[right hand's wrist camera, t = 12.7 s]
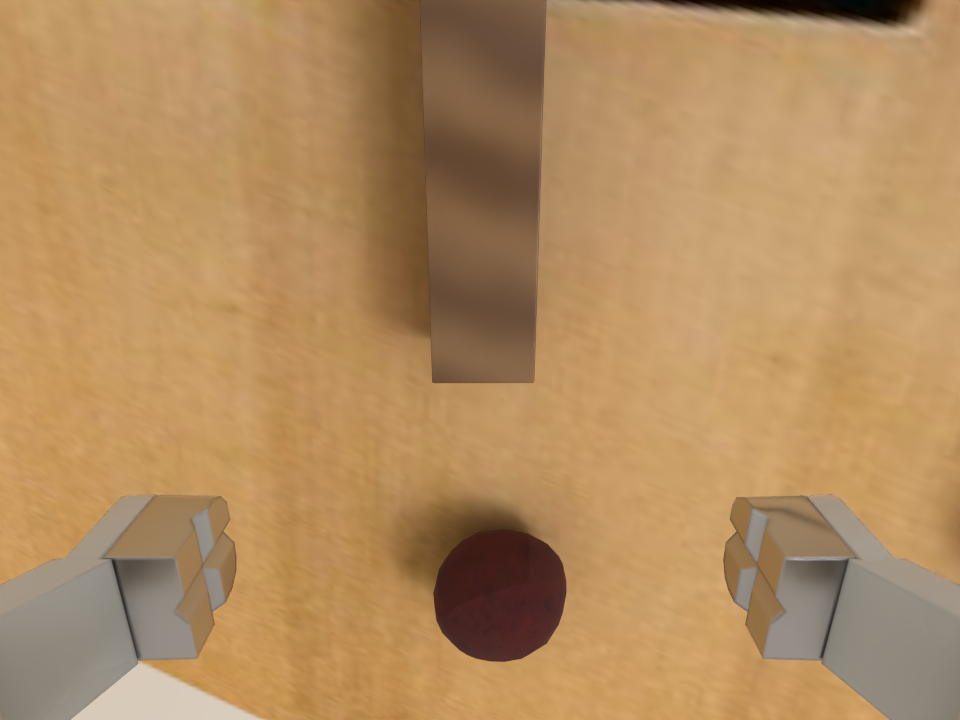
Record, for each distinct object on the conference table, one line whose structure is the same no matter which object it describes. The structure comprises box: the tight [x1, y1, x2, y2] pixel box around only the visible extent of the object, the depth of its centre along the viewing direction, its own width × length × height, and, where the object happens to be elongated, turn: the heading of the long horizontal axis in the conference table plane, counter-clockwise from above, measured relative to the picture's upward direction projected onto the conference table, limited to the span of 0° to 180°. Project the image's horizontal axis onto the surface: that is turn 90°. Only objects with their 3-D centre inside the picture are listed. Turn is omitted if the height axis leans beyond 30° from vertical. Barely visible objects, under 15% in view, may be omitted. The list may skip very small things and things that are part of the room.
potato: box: [434, 530, 566, 662], centre depth 37 cm, size 7×8×7 cm
